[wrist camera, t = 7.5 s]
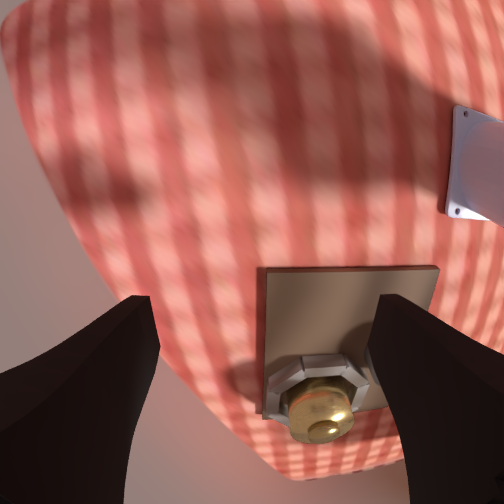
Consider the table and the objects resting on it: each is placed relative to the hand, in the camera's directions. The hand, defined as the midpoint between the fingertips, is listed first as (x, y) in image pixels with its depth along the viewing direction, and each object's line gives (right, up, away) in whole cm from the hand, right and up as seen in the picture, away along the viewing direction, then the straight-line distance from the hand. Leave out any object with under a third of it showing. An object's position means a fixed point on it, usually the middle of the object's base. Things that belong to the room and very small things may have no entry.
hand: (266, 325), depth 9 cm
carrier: (+7, -6, +13) cm, 16 cm away
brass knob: (+5, -9, +14) cm, 18 cm away
